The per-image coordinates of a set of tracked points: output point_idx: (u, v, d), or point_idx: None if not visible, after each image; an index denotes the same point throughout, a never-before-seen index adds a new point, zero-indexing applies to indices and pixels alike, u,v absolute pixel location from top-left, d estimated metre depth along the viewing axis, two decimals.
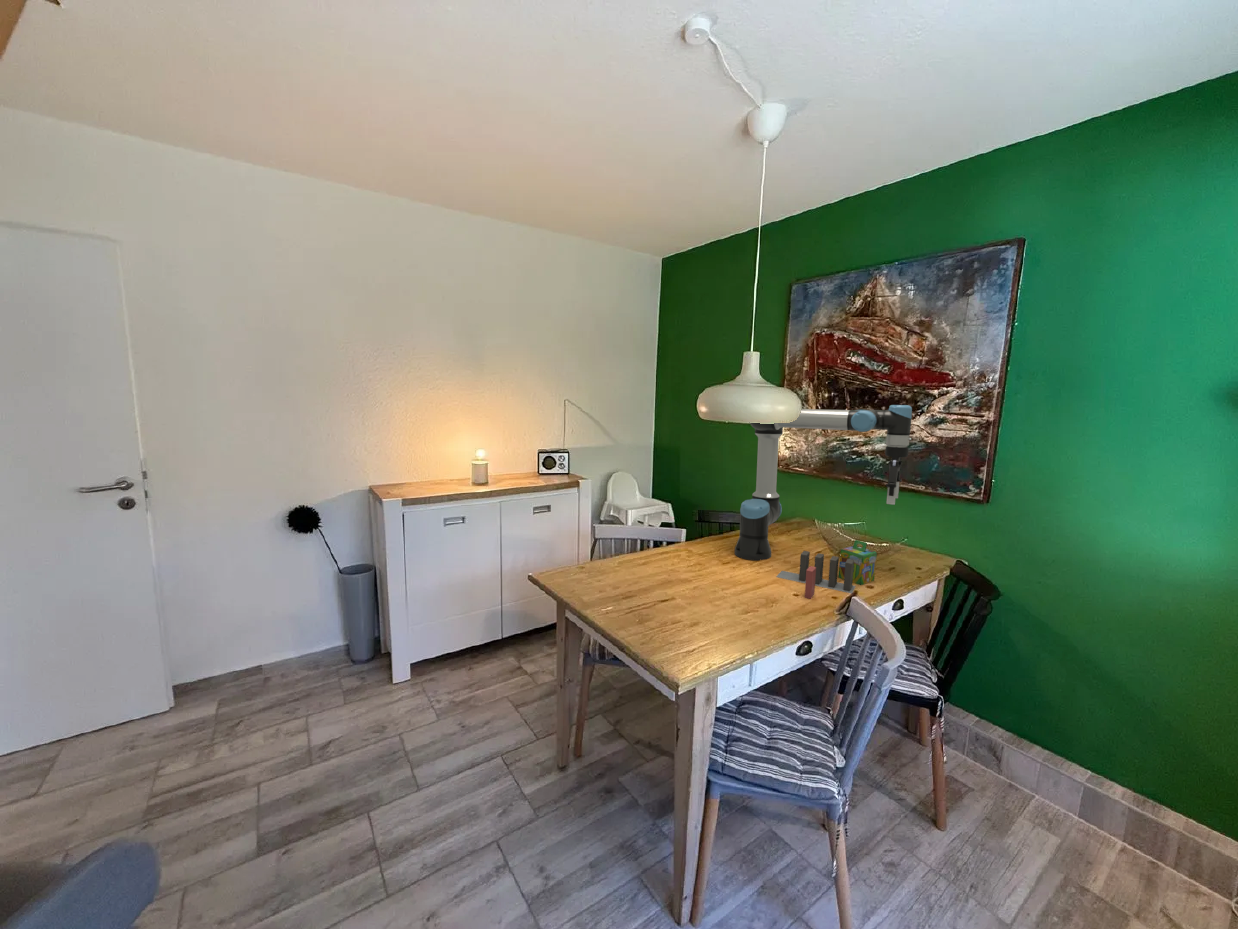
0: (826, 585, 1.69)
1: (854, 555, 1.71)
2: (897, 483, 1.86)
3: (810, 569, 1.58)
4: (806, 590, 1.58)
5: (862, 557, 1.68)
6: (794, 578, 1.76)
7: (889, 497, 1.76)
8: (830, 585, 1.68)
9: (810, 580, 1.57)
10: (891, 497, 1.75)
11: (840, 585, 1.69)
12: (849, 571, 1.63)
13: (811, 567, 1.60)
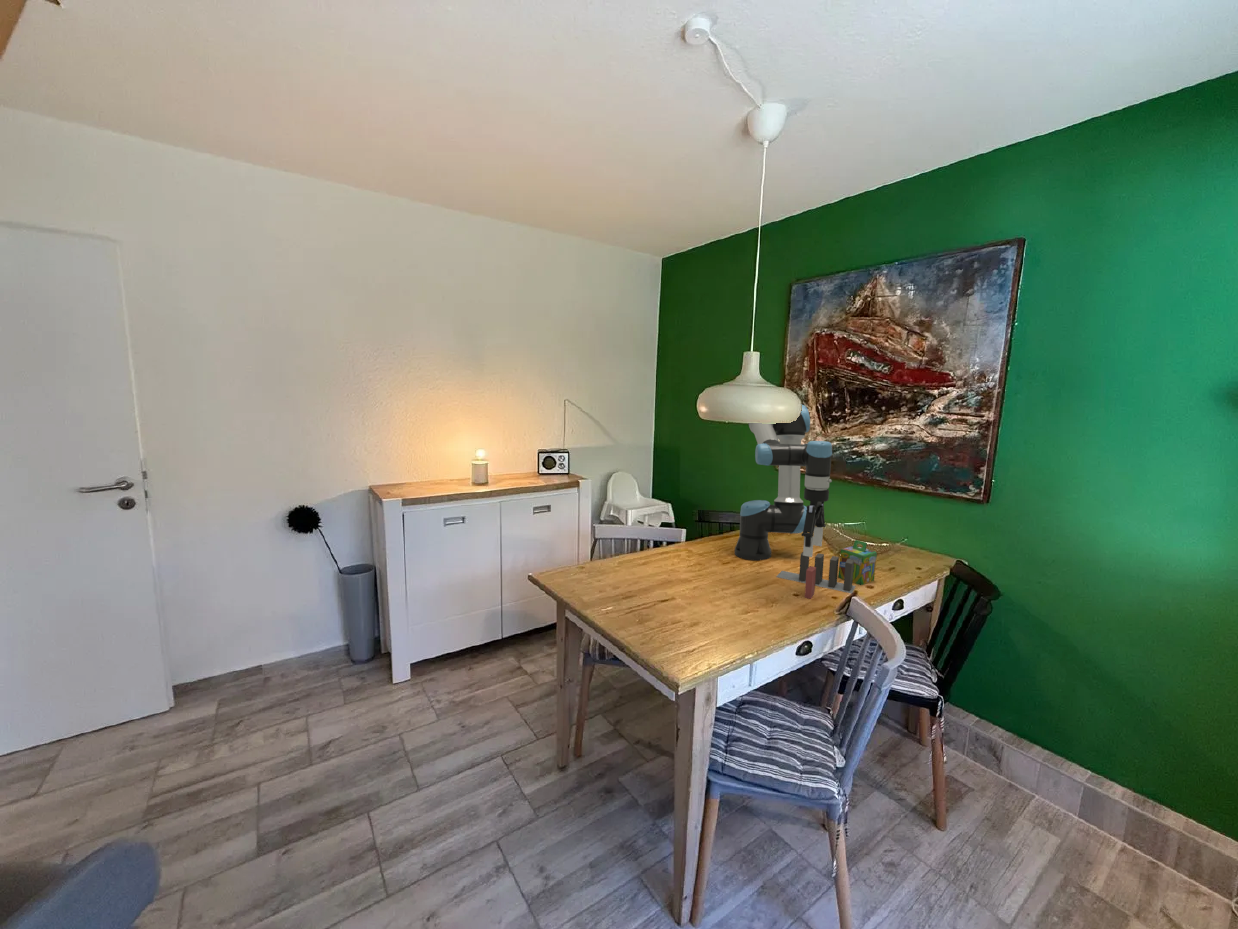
0: (826, 585, 1.69)
1: (854, 555, 1.71)
2: (820, 529, 1.62)
3: (810, 569, 1.58)
4: (806, 590, 1.58)
5: (862, 557, 1.68)
6: (794, 578, 1.76)
7: (806, 548, 1.52)
8: (830, 585, 1.68)
9: (810, 580, 1.57)
10: (808, 548, 1.52)
11: (840, 585, 1.69)
12: (849, 571, 1.63)
13: (811, 567, 1.60)
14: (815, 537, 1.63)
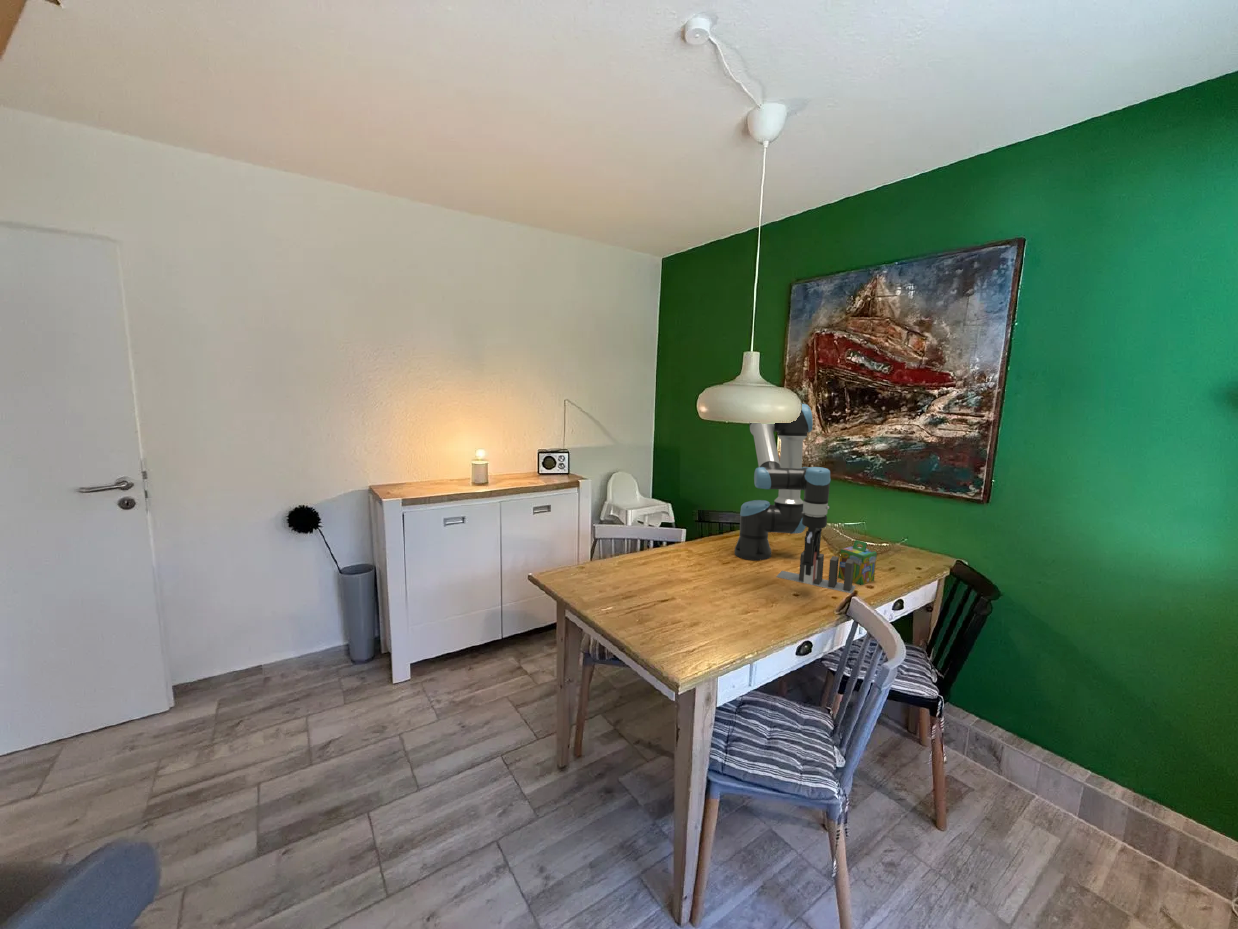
0: (826, 585, 1.69)
1: (854, 555, 1.71)
2: None
3: None
4: None
5: (862, 557, 1.68)
6: (794, 578, 1.76)
7: (806, 576, 1.57)
8: (830, 585, 1.68)
9: None
10: (808, 576, 1.57)
11: (840, 585, 1.69)
12: (849, 571, 1.63)
13: None
14: None
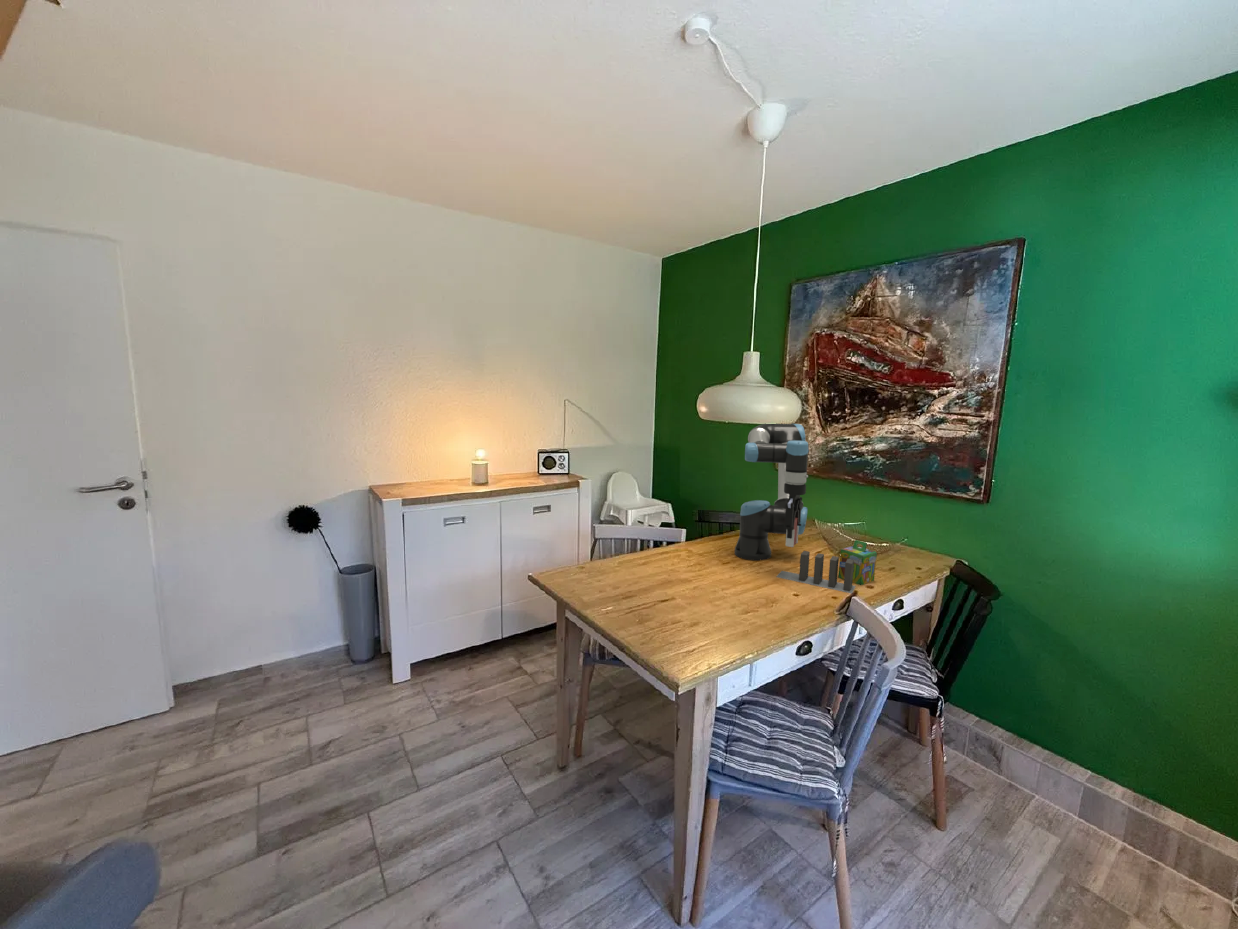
0: (826, 585, 1.69)
1: (854, 555, 1.71)
2: None
3: None
4: None
5: (862, 557, 1.68)
6: (794, 578, 1.76)
7: (788, 539, 1.73)
8: (830, 585, 1.68)
9: None
10: (790, 539, 1.73)
11: (840, 585, 1.69)
12: (849, 571, 1.63)
13: None
14: None
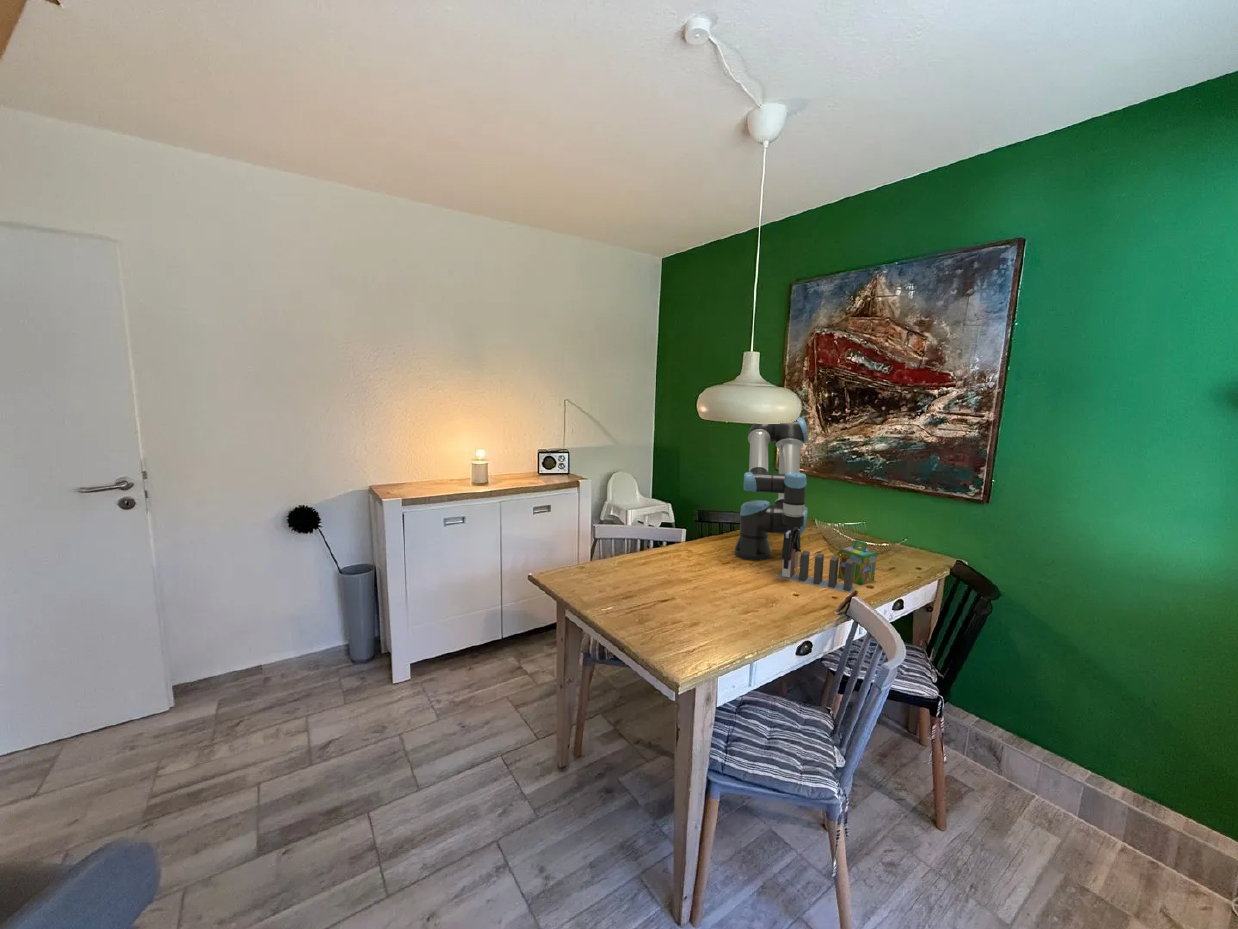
0: (826, 585, 1.69)
1: (854, 555, 1.71)
2: (796, 553, 1.80)
3: None
4: None
5: (862, 557, 1.68)
6: (794, 578, 1.76)
7: (784, 569, 1.73)
8: (830, 585, 1.68)
9: None
10: (786, 570, 1.73)
11: (840, 585, 1.69)
12: (849, 571, 1.63)
13: None
14: None
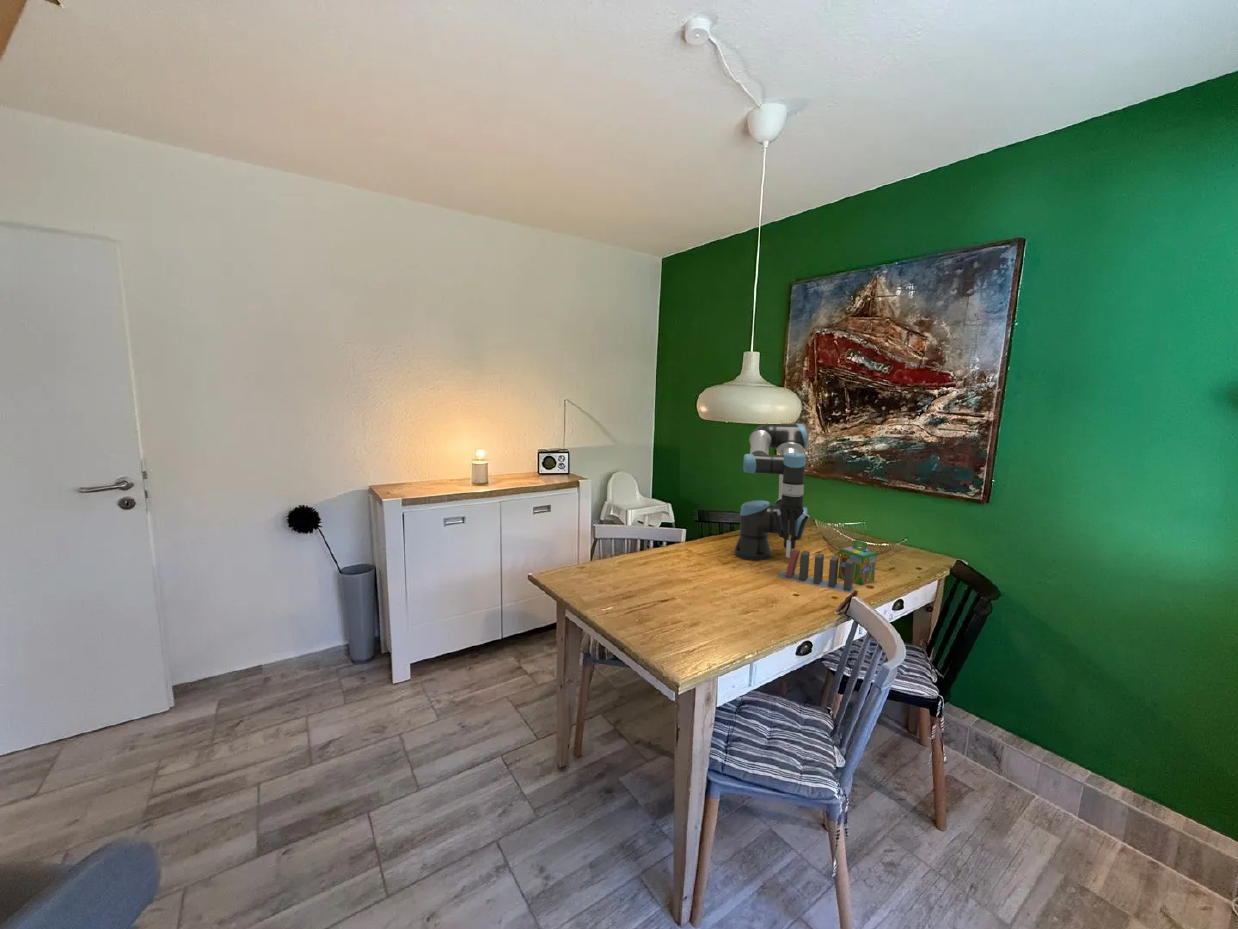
0: (826, 585, 1.69)
1: (854, 555, 1.71)
2: None
3: (794, 551, 1.75)
4: (787, 569, 1.76)
5: (862, 557, 1.68)
6: (794, 578, 1.76)
7: None
8: (830, 585, 1.68)
9: (793, 561, 1.74)
10: None
11: (840, 585, 1.69)
12: (849, 571, 1.63)
13: (795, 550, 1.77)
14: None
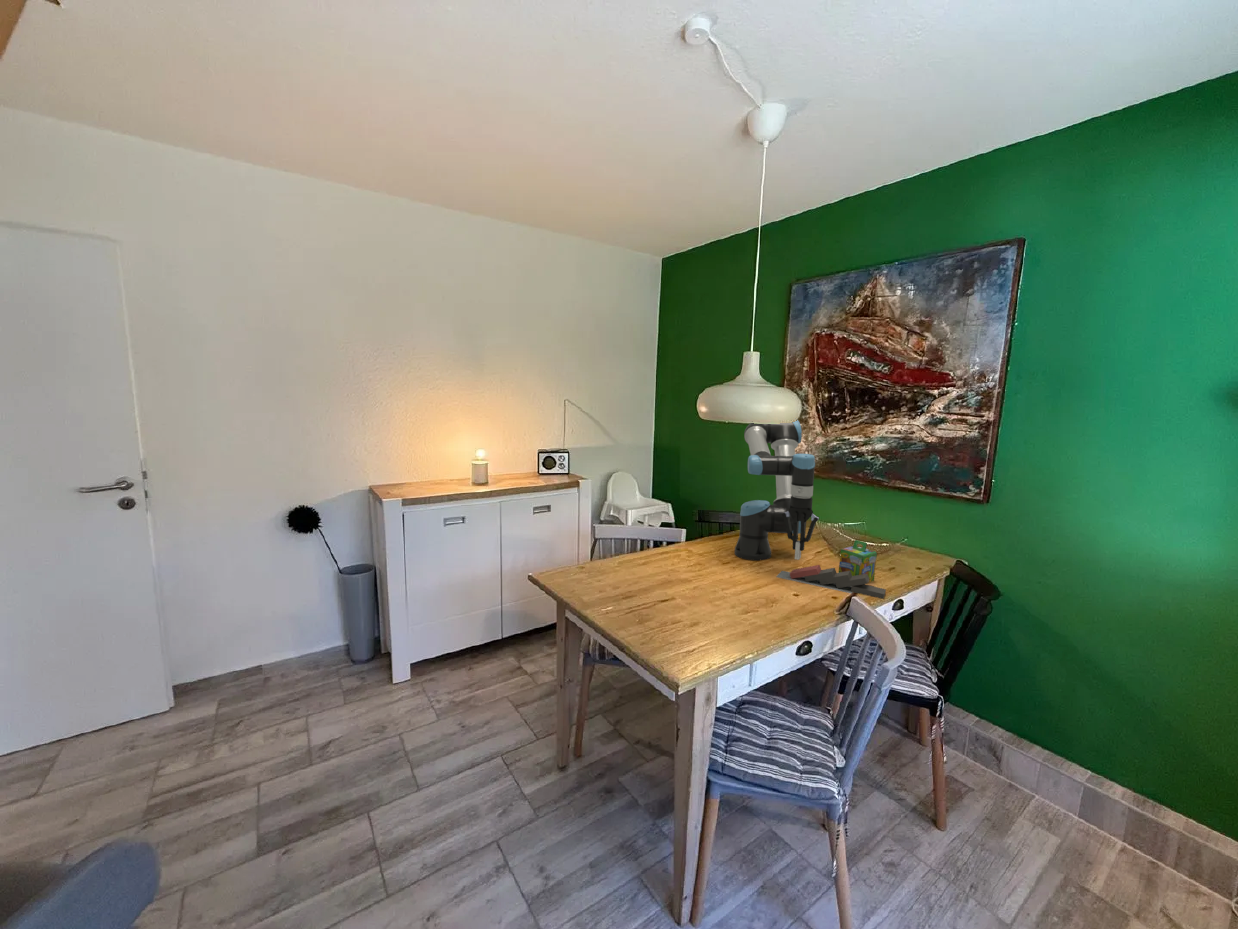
0: (826, 585, 1.69)
1: (854, 555, 1.71)
2: None
3: (818, 570, 1.71)
4: (797, 573, 1.74)
5: (862, 557, 1.68)
6: (794, 578, 1.76)
7: None
8: (837, 584, 1.66)
9: (808, 574, 1.71)
10: None
11: None
12: (873, 596, 1.60)
13: (819, 567, 1.73)
14: None
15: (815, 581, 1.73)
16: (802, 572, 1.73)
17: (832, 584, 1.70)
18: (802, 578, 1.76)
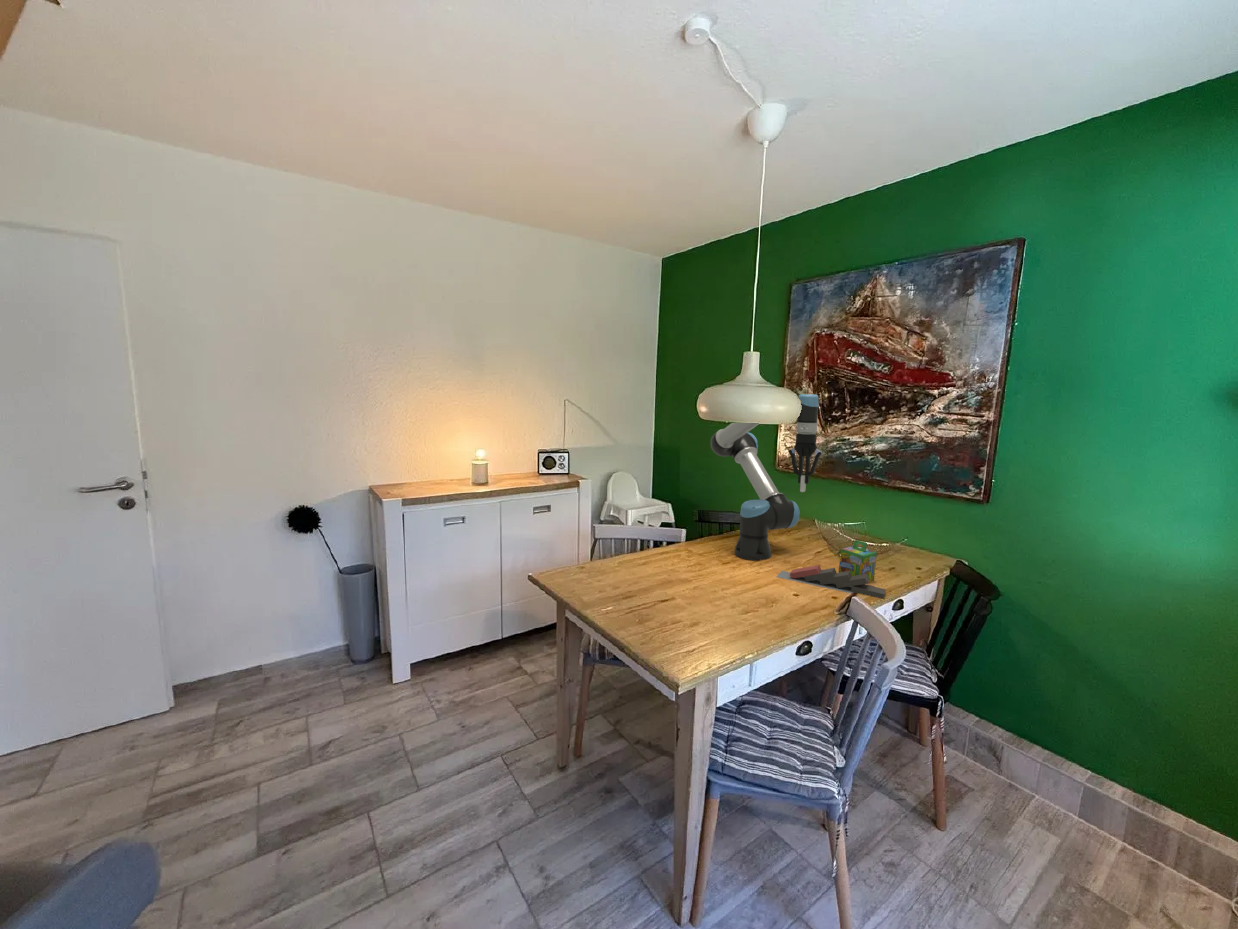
0: (826, 585, 1.69)
1: (854, 555, 1.71)
2: None
3: (818, 570, 1.71)
4: (797, 573, 1.74)
5: (862, 557, 1.68)
6: (794, 578, 1.76)
7: None
8: (837, 584, 1.66)
9: (808, 574, 1.71)
10: None
11: None
12: (873, 596, 1.60)
13: (819, 567, 1.73)
14: None
15: (815, 581, 1.73)
16: (802, 572, 1.73)
17: (832, 584, 1.70)
18: (802, 578, 1.76)
